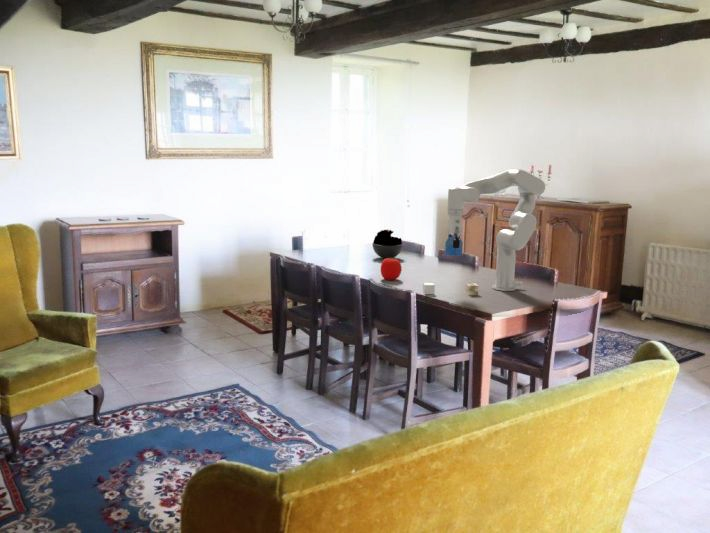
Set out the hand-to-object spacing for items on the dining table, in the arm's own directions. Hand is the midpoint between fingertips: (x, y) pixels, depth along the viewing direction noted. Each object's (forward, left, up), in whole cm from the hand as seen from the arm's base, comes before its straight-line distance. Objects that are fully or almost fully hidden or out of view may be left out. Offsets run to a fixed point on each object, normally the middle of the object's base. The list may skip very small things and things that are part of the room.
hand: (453, 246), depth 322 cm
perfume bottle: (0, 0, -4) cm, 4 cm away
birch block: (-10, +3, -24) cm, 26 cm away
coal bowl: (+17, -97, -24) cm, 101 cm away
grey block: (+12, +1, -24) cm, 27 cm away
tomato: (+26, -32, -24) cm, 48 cm away
